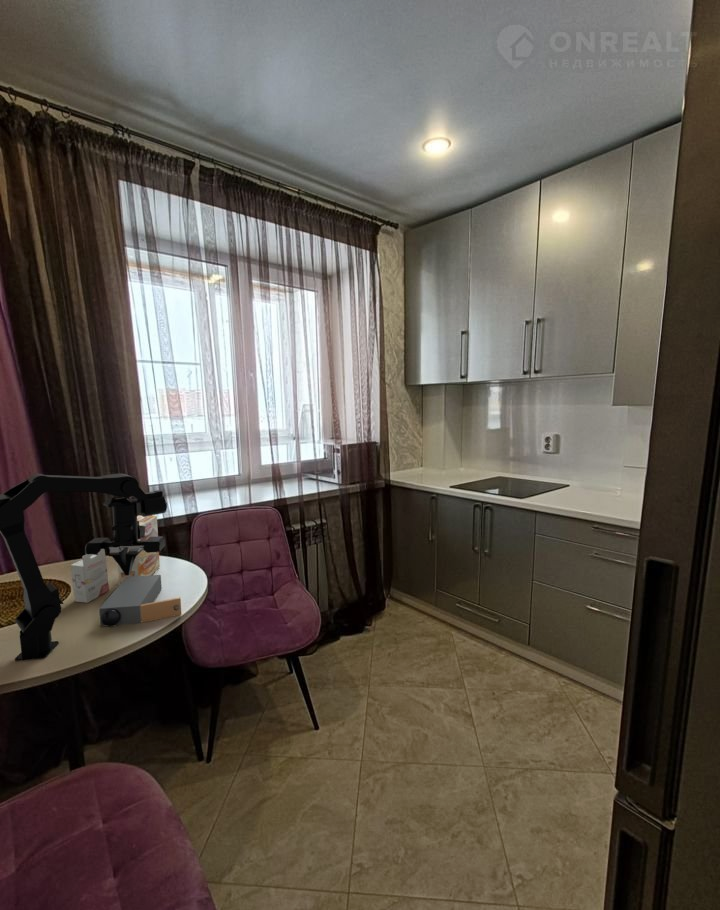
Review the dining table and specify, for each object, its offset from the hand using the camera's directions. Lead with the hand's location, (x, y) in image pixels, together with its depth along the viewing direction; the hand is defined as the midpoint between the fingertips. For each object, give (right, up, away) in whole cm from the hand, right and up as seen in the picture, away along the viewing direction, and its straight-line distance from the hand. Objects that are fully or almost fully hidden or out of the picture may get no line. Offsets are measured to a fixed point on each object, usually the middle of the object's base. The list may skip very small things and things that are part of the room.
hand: (127, 574), depth 115 cm
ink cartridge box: (-19, -11, +14) cm, 26 cm away
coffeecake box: (-11, -9, +28) cm, 32 cm away
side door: (+9, -12, +1) cm, 15 cm away
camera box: (-3, -12, +8) cm, 14 cm away
